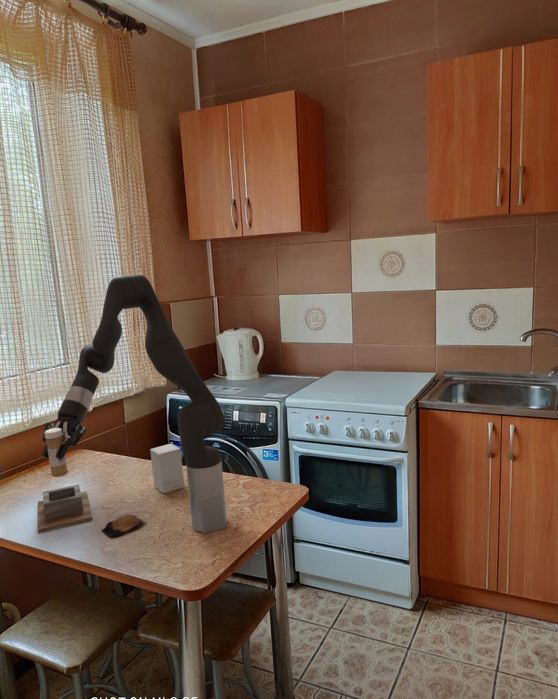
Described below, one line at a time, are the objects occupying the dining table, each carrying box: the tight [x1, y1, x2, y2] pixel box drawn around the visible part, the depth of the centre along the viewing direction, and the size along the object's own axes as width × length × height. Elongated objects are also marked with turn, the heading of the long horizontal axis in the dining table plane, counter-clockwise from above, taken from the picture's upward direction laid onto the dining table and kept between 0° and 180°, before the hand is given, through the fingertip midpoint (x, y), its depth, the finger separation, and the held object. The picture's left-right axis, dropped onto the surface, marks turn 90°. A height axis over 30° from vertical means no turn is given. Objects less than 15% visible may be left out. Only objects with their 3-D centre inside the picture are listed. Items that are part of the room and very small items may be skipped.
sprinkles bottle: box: [45, 428, 69, 478], centre depth 157 cm, size 5×5×14 cm
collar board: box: [37, 484, 94, 534], centre depth 159 cm, size 20×14×6 cm
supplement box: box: [150, 443, 185, 494], centre depth 172 cm, size 7×7×13 cm
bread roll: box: [100, 513, 148, 539], centre depth 147 cm, size 11×8×4 cm
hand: (51, 457), depth 155 cm, fingers closed on sprinkles bottle, 4 cm apart
